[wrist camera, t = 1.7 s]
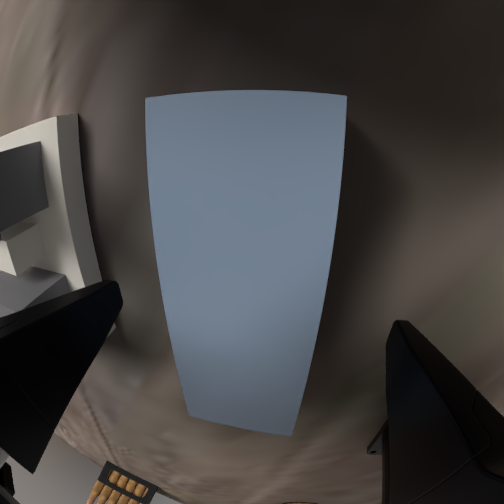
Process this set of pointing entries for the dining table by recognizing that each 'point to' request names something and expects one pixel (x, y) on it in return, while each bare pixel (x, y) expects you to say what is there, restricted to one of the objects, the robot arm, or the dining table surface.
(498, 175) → the dining table surface
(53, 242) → the white grey bracket mount
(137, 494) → the ammunition clip
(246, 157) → the blue tapered block
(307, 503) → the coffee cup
